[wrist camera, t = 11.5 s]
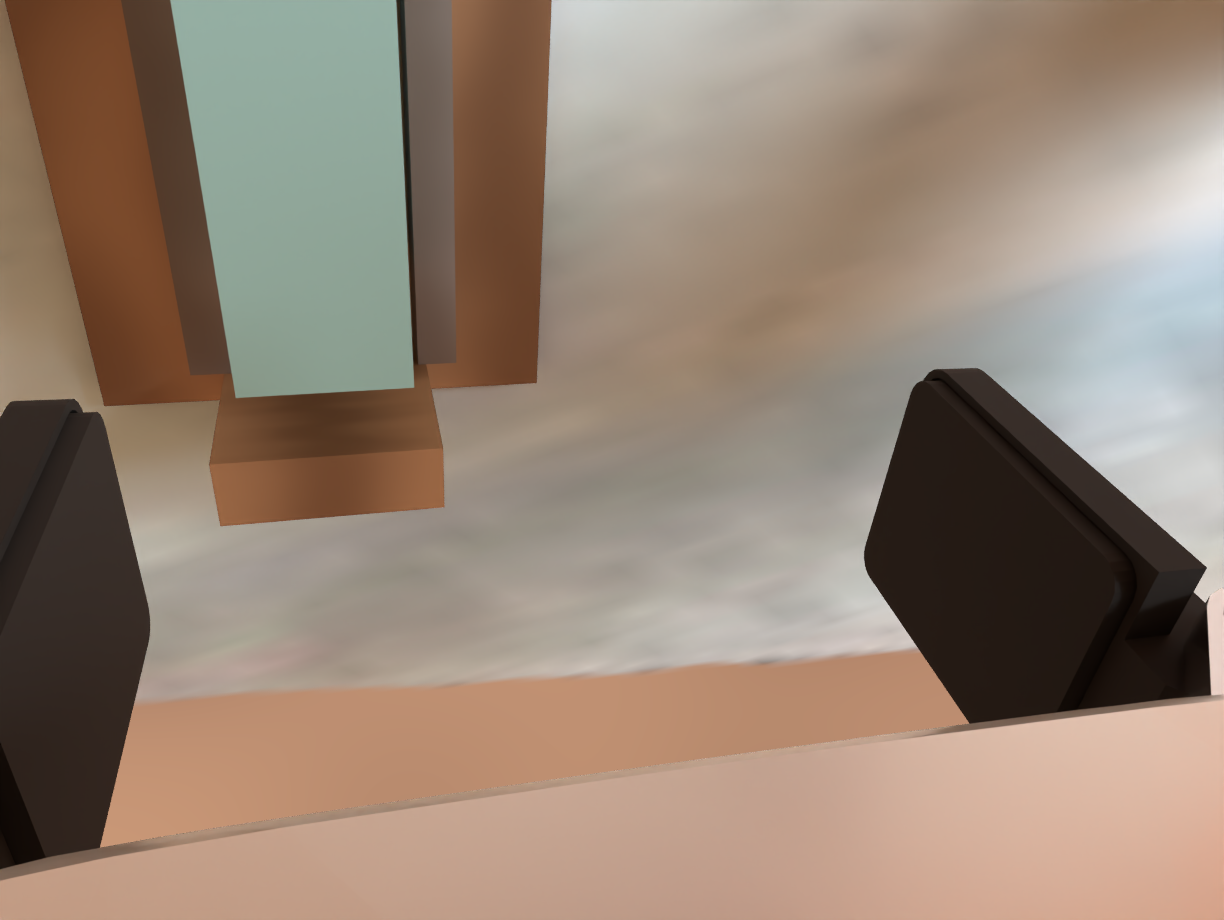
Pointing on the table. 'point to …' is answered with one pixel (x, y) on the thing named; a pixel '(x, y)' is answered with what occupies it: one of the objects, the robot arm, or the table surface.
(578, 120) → the table surface
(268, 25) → the door panel
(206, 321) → the brown wooden holder
